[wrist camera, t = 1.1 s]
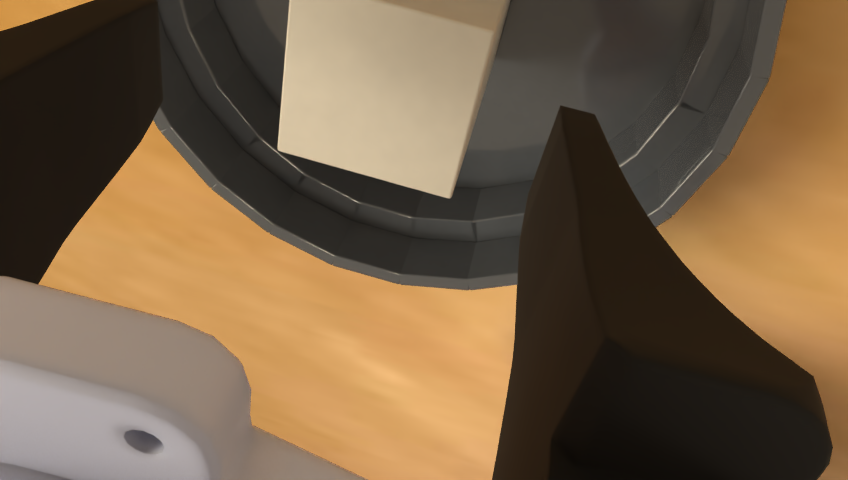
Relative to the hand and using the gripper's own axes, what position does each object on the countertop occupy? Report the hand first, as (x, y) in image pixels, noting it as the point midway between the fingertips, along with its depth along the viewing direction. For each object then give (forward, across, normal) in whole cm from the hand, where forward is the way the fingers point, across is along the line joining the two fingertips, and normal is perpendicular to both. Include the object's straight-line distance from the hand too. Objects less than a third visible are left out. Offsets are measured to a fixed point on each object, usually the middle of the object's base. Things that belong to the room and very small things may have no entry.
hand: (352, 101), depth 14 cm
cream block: (+11, 0, +2) cm, 11 cm away
